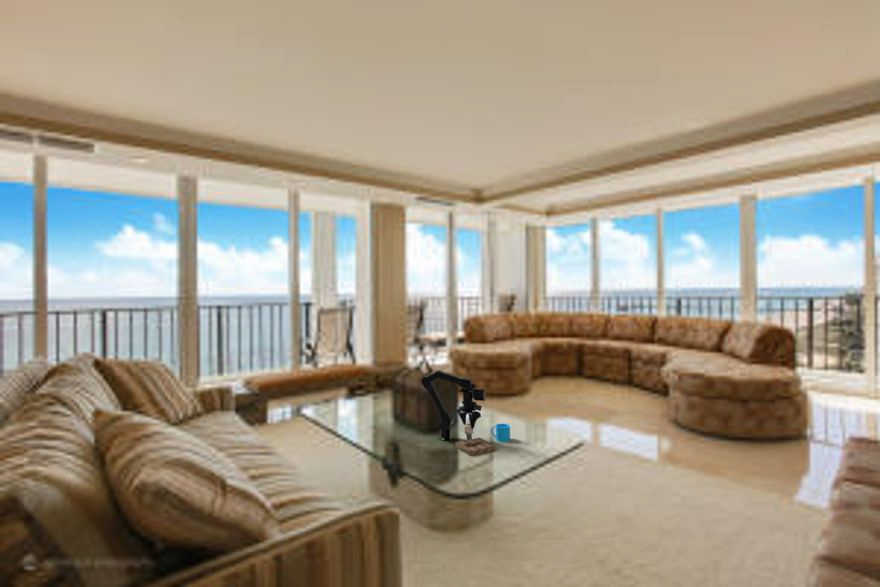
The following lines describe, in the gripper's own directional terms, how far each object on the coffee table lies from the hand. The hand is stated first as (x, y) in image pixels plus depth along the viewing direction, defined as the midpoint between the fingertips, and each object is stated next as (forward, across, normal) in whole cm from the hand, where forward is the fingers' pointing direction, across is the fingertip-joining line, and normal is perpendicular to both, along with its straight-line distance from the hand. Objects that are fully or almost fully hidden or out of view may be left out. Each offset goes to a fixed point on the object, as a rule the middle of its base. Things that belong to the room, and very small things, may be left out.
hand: (468, 426), depth 242 cm
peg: (+8, 0, 0) cm, 8 cm away
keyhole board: (+8, -13, +4) cm, 16 cm away
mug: (+8, -7, -17) cm, 20 cm away
